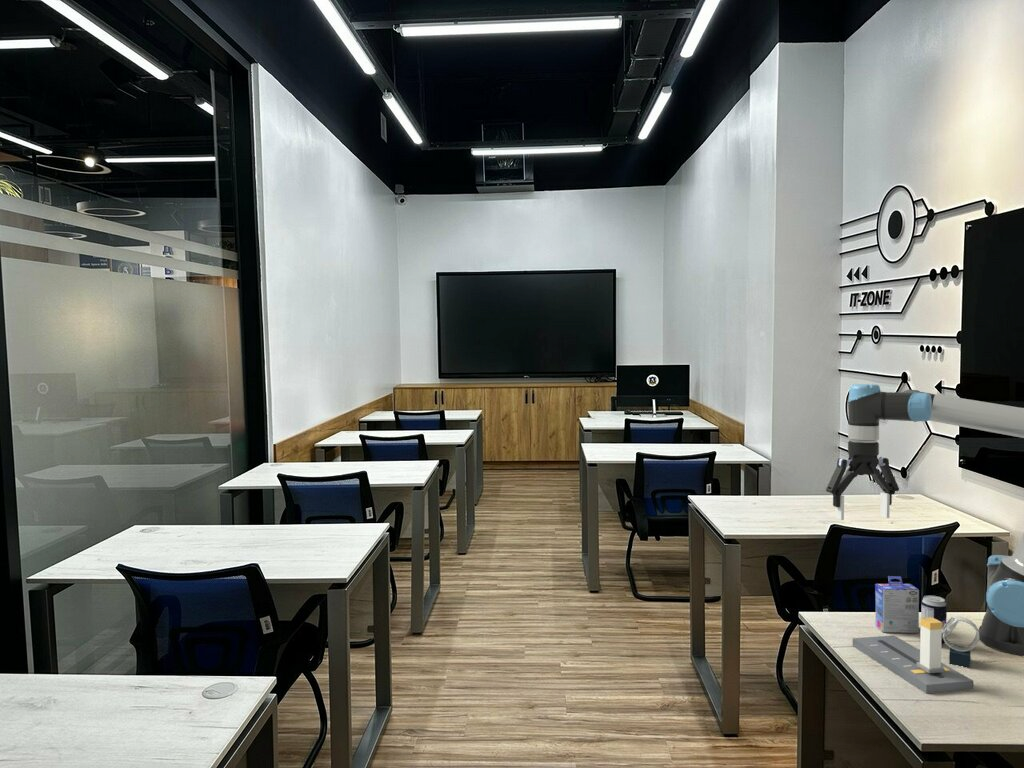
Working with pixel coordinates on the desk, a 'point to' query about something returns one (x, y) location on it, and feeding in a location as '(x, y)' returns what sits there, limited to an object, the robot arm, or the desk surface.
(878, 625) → the ink cartridge box
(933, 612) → the beverage can
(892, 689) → the desk surface
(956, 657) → the watch
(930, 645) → the fader handle
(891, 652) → the fader console
